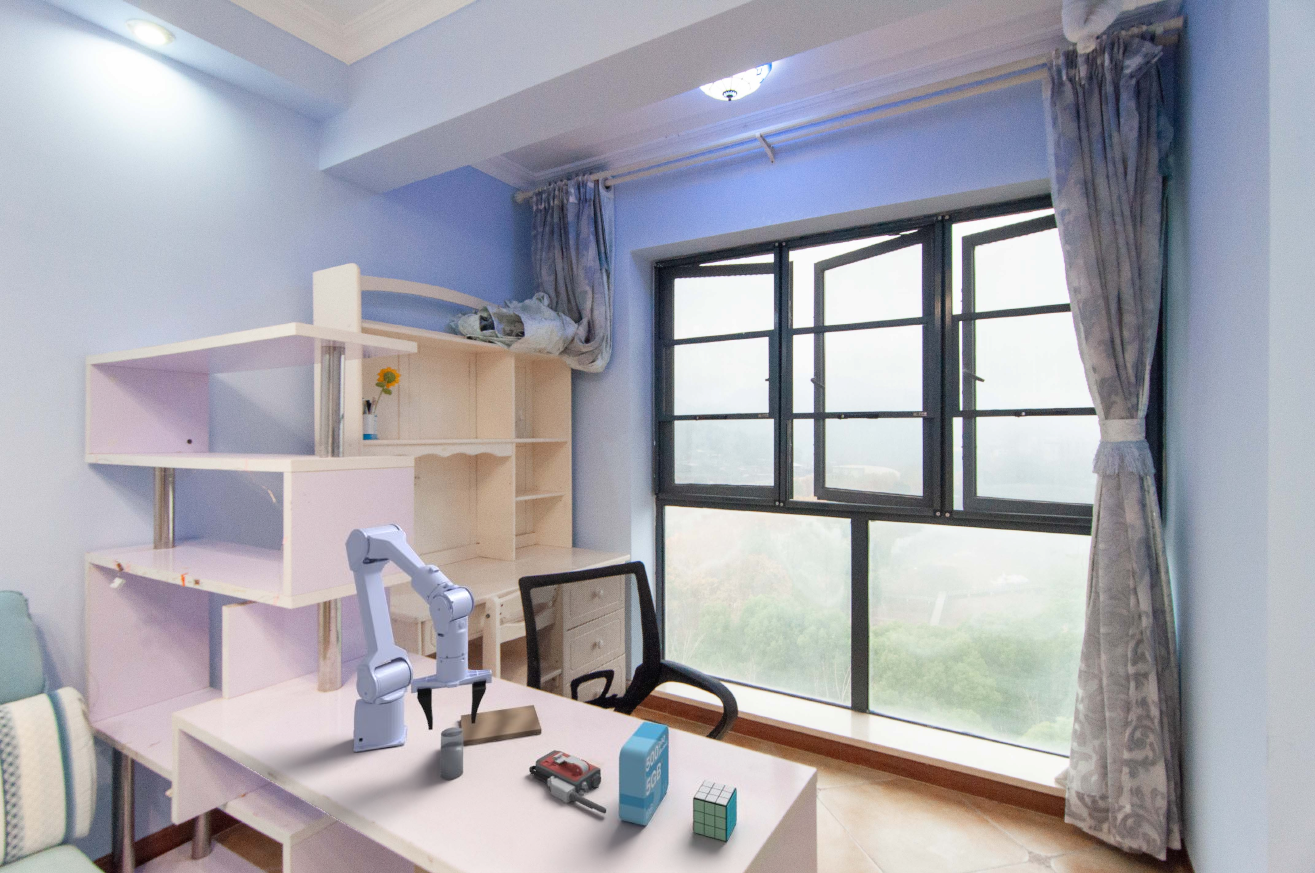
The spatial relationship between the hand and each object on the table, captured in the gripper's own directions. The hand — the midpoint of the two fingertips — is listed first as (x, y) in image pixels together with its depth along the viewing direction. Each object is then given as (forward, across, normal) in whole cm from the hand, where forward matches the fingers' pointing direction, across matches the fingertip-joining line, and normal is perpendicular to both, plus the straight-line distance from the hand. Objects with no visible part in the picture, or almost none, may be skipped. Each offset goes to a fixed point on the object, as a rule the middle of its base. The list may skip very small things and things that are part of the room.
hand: (452, 724), depth 115 cm
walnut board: (+8, +10, +13) cm, 18 cm away
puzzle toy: (+8, +40, -33) cm, 52 cm away
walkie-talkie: (+9, +21, -15) cm, 27 cm away
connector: (+8, 0, +2) cm, 8 cm away
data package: (+8, +31, -24) cm, 40 cm away
